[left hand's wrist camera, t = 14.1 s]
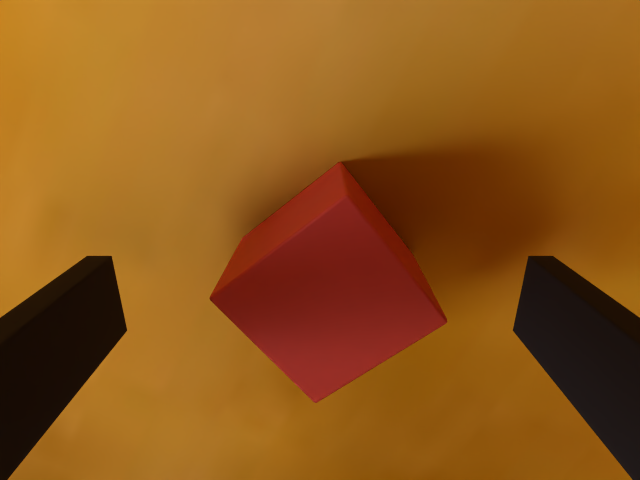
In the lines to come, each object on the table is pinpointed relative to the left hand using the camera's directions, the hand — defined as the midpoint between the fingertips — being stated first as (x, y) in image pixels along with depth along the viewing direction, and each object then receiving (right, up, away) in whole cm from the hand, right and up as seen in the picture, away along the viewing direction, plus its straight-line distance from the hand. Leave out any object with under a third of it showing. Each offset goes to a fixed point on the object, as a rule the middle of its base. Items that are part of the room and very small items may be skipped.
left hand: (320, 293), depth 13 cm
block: (0, +1, +3) cm, 3 cm away
